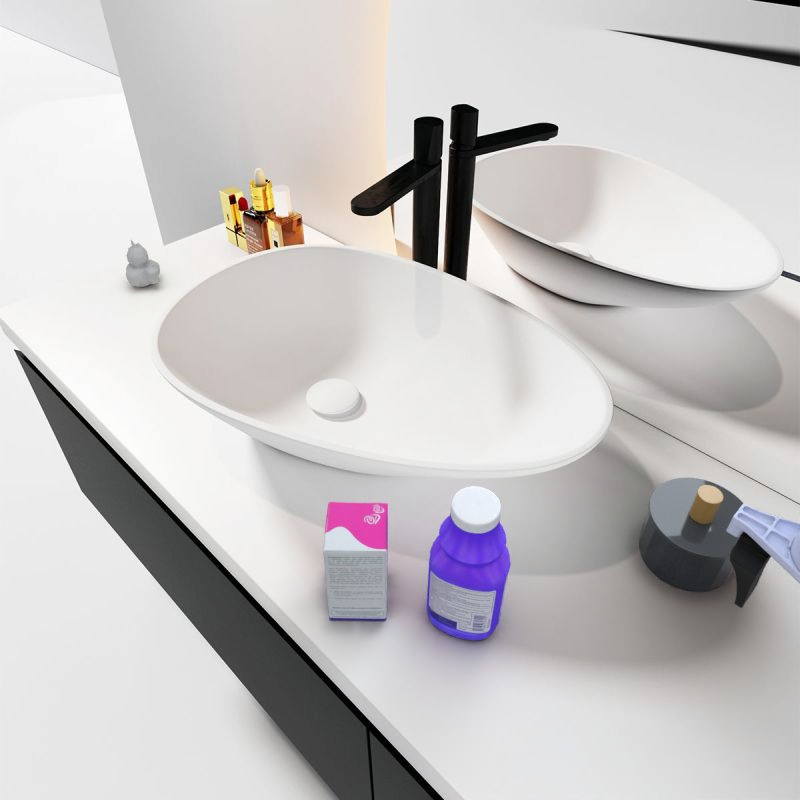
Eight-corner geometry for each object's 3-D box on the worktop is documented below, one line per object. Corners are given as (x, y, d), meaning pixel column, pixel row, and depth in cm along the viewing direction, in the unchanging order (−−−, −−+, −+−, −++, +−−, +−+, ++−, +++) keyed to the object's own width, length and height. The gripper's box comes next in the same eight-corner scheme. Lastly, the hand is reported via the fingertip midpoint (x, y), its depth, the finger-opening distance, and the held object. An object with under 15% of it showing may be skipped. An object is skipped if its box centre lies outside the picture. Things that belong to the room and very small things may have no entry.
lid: (768, 520, 70) (783, 493, 67) (723, 582, 65) (737, 555, 62) (676, 469, 76) (687, 441, 73) (628, 522, 70) (637, 495, 67)
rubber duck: (147, 271, 116) (134, 227, 111) (174, 283, 114) (162, 239, 108) (120, 285, 113) (106, 241, 108) (147, 298, 110) (134, 254, 105)
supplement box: (388, 622, 68) (386, 552, 60) (328, 621, 68) (318, 552, 61) (390, 571, 72) (388, 500, 65) (333, 571, 72) (324, 500, 65)
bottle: (506, 602, 70) (526, 488, 58) (492, 653, 66) (511, 542, 54) (436, 582, 71) (442, 468, 60) (419, 630, 67) (421, 518, 56)
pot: (747, 552, 74) (766, 517, 70) (705, 609, 69) (723, 574, 65) (666, 504, 79) (679, 468, 75) (622, 553, 74) (634, 519, 70)
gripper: (990, 551, 47) (897, 650, 57) (778, 445, 55) (725, 548, 64) (962, 618, 44) (867, 713, 53) (739, 495, 51) (689, 596, 60)
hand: (787, 626), depth 58 cm, fingers open, 7 cm apart
